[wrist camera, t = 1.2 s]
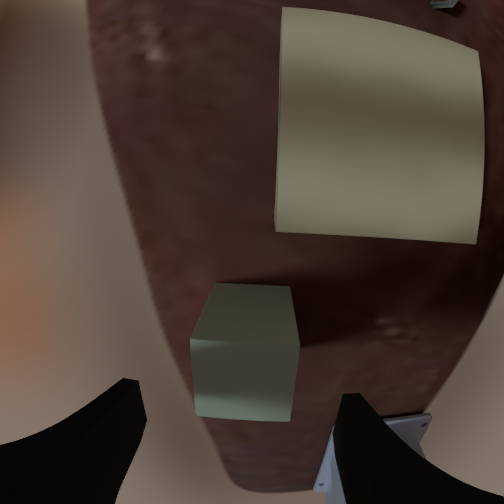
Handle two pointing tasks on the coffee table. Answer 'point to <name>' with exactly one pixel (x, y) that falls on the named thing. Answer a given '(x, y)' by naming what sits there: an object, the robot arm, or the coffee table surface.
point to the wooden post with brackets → (443, 3)
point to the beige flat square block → (377, 130)
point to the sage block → (245, 353)
